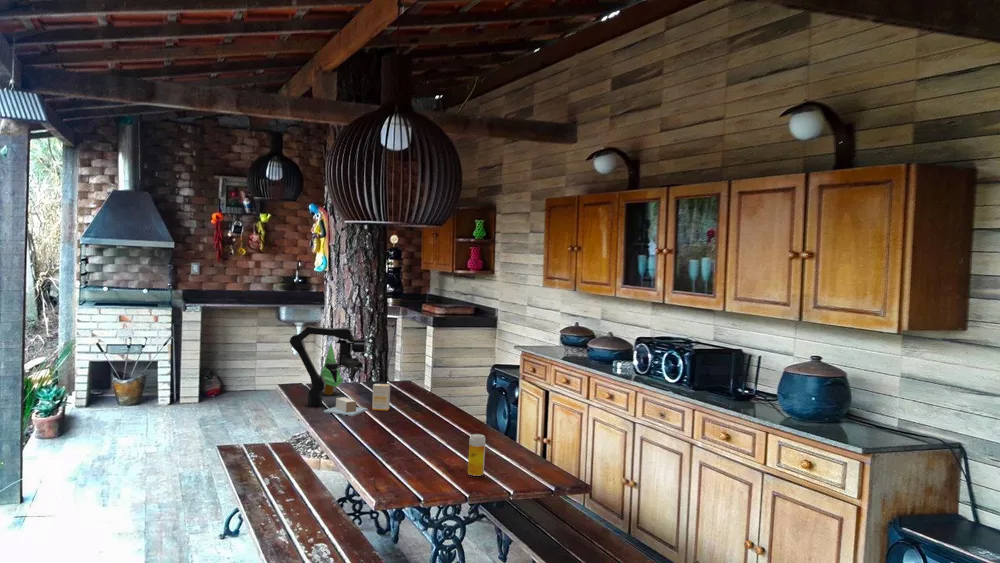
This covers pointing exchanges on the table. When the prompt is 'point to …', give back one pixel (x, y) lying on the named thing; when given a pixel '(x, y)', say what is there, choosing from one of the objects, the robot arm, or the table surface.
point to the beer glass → (476, 455)
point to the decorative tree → (327, 374)
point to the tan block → (346, 404)
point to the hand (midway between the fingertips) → (343, 381)
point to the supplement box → (381, 397)
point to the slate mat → (338, 411)
